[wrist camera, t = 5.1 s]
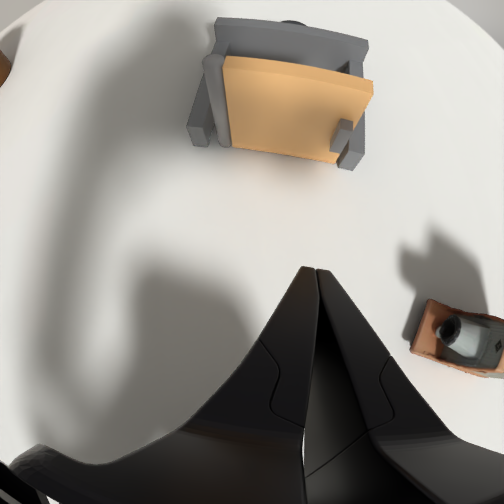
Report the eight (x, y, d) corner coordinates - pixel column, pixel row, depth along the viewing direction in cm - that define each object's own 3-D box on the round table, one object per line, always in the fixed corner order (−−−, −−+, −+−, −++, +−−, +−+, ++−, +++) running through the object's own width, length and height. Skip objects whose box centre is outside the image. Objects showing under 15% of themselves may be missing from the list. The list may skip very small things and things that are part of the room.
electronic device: (421, 297, 21) (481, 294, 14) (492, 330, 21) (549, 334, 13) (402, 350, 21) (459, 367, 13) (477, 376, 20) (532, 391, 13)
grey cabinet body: (352, 170, 23) (374, 141, 18) (193, 145, 23) (180, 111, 18) (353, 66, 25) (366, 32, 20) (224, 46, 25) (220, 10, 20)
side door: (333, 173, 22) (374, 105, 13) (215, 154, 23) (196, 77, 14) (335, 152, 23) (372, 79, 14) (220, 133, 23) (205, 53, 14)
